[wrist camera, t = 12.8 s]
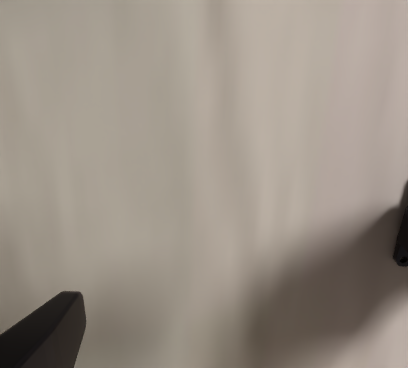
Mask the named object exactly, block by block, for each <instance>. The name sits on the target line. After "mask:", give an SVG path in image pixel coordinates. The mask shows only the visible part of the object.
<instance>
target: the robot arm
mask: <svg viewBox="0 0 408 368" xmlns="http://www.w3.org/2000/svg"><path fill="white" fill-rule="evenodd" d="M402 257H404V258H403V259H401V258H402ZM393 260H394V261H395V262H396V263H397V264H398V265H399V266H408V206H407V207H406V211H405V214H404V217H403V221H402V224H401V227H400V231H399V234H398V237H397V244H396V248H395V251H394V255H393ZM85 328H86V315H85V307H84V300H83V295H82V293H80V292H77V291H63V292H61V293H59V294H58V295H56V296H55V297H53V298H52V299H51V300H49V301H48V302H46V303H45V304H44V305H42V306H41V307H39V308H38V309H36V310H35V311H34V312H32V313H31V314H29V315H28V316H26V317H25V318H24V319H22V320H21V321H19V322H18V323H17V324H15V325H14V326H12V327H11V328H9V329H8V330H7V331H5V332H4V333H2V334H1V335H0V368H74V365H75V362H76V358H77V355H78V352H79V348H80V345H81V342H82V339H83V335H84V332H85Z"/></svg>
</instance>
